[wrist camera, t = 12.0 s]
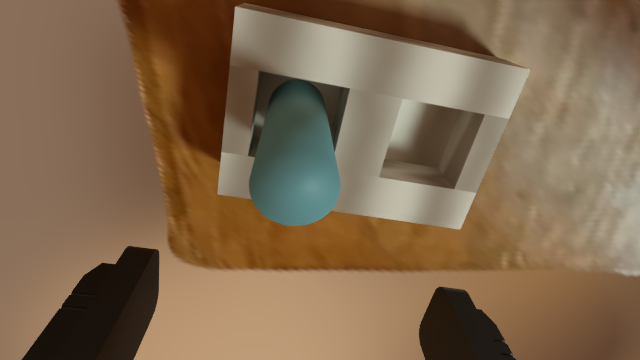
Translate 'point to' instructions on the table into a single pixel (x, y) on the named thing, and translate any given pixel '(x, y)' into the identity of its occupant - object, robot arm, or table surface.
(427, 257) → the table surface
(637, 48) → the table surface
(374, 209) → the hole board
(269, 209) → the pin
